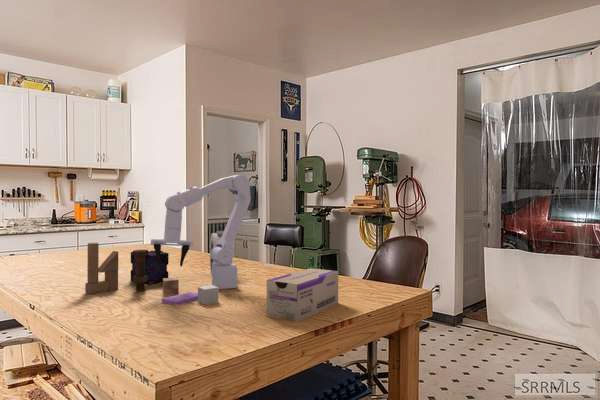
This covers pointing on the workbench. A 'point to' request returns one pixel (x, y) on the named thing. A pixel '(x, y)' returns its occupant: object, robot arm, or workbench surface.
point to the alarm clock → (214, 244)
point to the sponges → (180, 298)
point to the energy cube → (152, 267)
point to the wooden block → (107, 266)
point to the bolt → (140, 269)
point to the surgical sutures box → (301, 294)
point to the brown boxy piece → (170, 286)
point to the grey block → (208, 294)
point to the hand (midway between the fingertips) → (170, 265)
